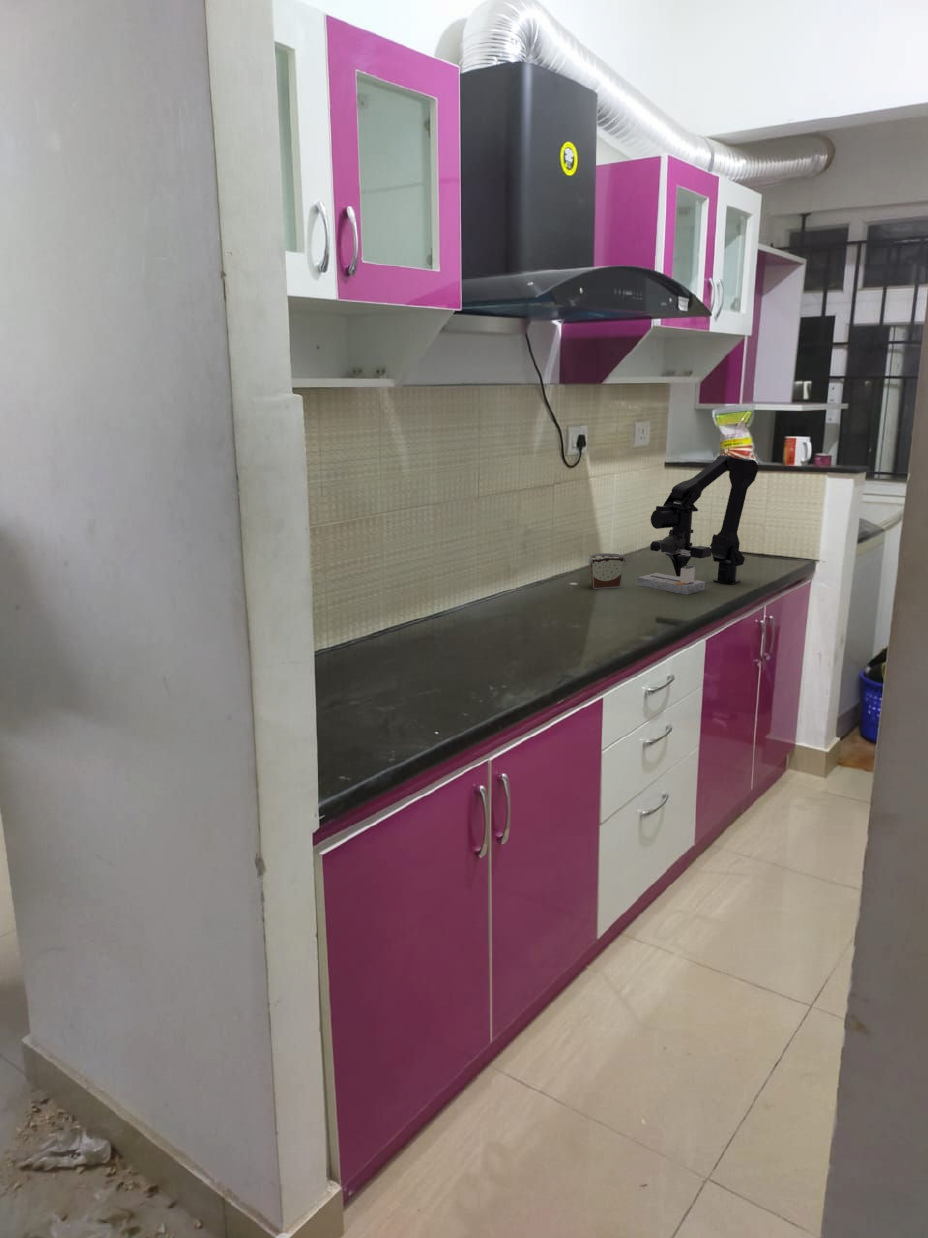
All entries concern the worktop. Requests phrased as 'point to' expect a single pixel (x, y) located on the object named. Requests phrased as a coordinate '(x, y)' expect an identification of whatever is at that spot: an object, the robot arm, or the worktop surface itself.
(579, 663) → the worktop surface
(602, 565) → the food container
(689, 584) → the console
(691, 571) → the fader tab
